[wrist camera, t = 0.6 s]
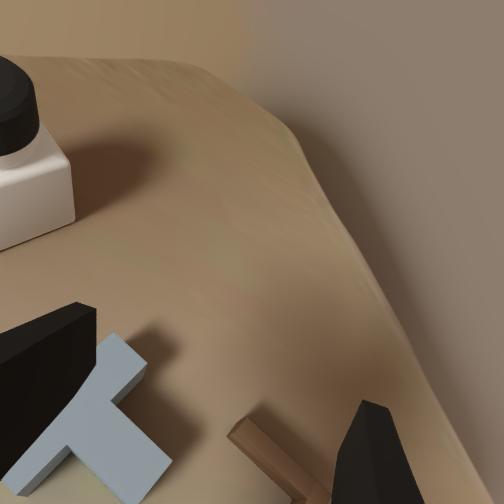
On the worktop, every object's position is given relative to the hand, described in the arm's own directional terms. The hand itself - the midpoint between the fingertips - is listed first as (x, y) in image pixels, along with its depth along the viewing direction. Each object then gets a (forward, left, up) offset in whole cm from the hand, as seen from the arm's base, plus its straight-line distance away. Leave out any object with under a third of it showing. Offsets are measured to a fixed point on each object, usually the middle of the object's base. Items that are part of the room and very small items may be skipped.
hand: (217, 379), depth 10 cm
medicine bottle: (+6, +21, -19) cm, 29 cm away
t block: (-1, +4, -19) cm, 19 cm away
